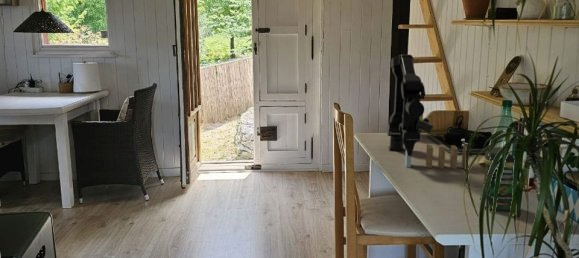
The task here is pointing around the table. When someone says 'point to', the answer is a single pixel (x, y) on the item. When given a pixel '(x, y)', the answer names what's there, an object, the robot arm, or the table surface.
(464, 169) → the domino
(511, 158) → the coffee jar
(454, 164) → the domino
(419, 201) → the table surface
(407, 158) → the blue-grey rectangular block
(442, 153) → the domino
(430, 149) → the domino
